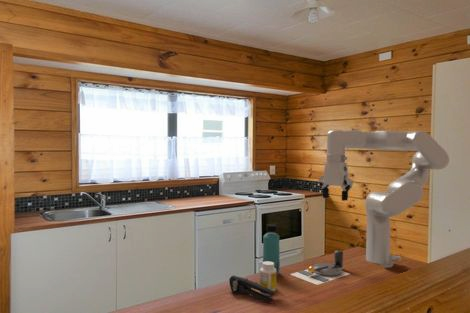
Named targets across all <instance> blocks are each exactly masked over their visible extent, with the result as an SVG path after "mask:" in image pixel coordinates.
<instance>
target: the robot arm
mask: <svg viewBox="0 0 470 313" xmlns="http://www.w3.org/2000/svg"><path fill="white" fill-rule="evenodd" d="M326 138H327V139H326V162H324V168H323V175H322V176H320V177H318V182H319V185H320V186H321V189H322V198H323V199H328V198H329V194H330V192H329V191H330V190H329V187H330V186H335V187H341V189H342V191H341V201H343V202H345V201H348V199H349V191H350V189H351V188H352V187H353V185H354V183H355V180H353V179H351V178H350V177H349V167H348V163H347V162H346V161H347V160H348V157H347V156H346V149H365V150H366V149H368V150H369V149H370V150H376V151H378V150H379V151H402V152H406V151H407V152H408V151H409V152H411V151H415V153H414V155H412V162H411V164H412V165H411V167H410V170H409V171H408V172H406V173H405V174H403V175H401V176H400V177H398V178H397V179H395V180H393V181H392V182H391V183H389V184H388V186H387V188H386V192H384V191H378V190H375V191H374V190H373V191H372V192H370V193H369V194H368V195H367V196H366V198H365V201H364V204H365V205H364V206H365V214H366V236H365V237H366V240H365V241H366V242H365V243H366V245H365V249H366V250H365V254H366V255H365V260H366V261H367V262H369V263H371V264H377V265H379V266H381V267H382V268H383V269H390V268H393V267H394V261H396V262H397V261H399V262H401V261H402V257H401V256H400V255H395V254H391V253H390V251H391V250H390V248H391V219H390V218H394V217H397V216H399V215H401V214H402V213H404V212H406V211H407V210H409V209H411V208H412V207H414V206H415V205H417V204H418V203H419V202H420V201H421V200H422V198H423V196H424V189H423V188H424V187H425V185H426V184H428V181H429V177H430V170H436V171H439V170H443V169H445V168H446V167H447V166H448V165H449V162H450V158H449V154H448V152H447V151H446V150H445V149H444V148H443V147H442V145H440V144H439V143H438V142H437V140H435V139H434V138H433V137H432V136H431V135H430V134H429V133H428V132H426V131H425V130H411V131H404V130H402V131H401V130H375V131H361V130H357V129H354V130H352V129H351V130H341V129H334V130H333V129H332V130H329V131H328V132H327V133H326Z"/></svg>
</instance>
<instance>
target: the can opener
mask: <svg viewBox="0 0 470 313" xmlns="http://www.w3.org/2000/svg"><path fill="white" fill-rule="evenodd" d="M228 280H229V287H230V290H231V292H232V293H233V294H237V295H239V294H240V295H241V294H248V295H250V296H252V297H254V298H256V299H258V300H259V301H262V300H263V301H262V302H265V301H267V302H266V303H268V302H273V303H274V302H275V301H274V299H273V298H271V297H273V296H274V297H275V295H276V291H272V290H270V289H268V288H266V287H264V286H262V285H260V283H257V282H255V281H252V280H249V279H248V278H247V277H241V276H236V275H231V276H230V278H229V279H228ZM256 290H257V291H256ZM260 291H261V292H264V293H266V294H269V295H271V296H266V295H263V294H261V293H260Z"/></svg>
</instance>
